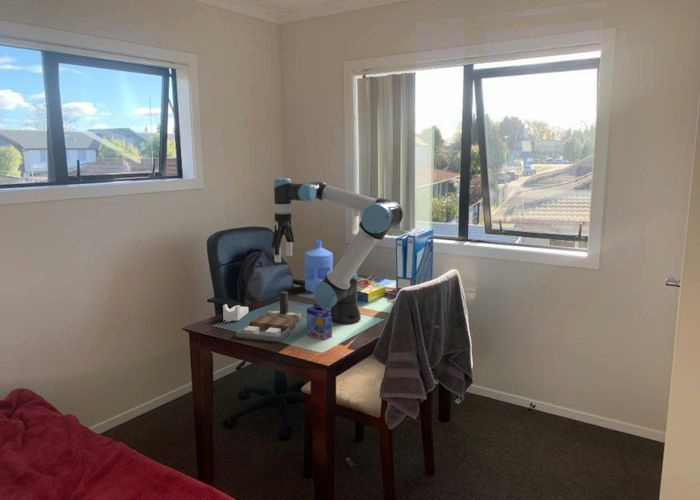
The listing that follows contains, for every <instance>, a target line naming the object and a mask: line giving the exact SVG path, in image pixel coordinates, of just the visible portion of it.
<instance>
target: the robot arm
mask: <svg viewBox="0 0 700 500" xmlns="http://www.w3.org/2000/svg"><path fill="white" fill-rule="evenodd" d="M273 195H274V205H273V207H274V222H277V224H276V225H275V224H274V231H273V237H272V244H271V247H272V249H273V250H274V252H273V253H274V255H273V256H274V263H281V262H282V254H281V253H282V252H281V251H282V249H281V248H282V247H281V243H282V240H283V236H284V237H285V240H286V242H285V256H286V257H292V256H293V243H294V242H295V237H294V232H293V227H292V201H297V202H304V203H306V202H313V201H314V200H320V201H321V202H326V203H329V204H332V205H336V206H340V207H342V208H345V209H349V210H352V211H356V212H359V213H361V217H360V218H361V221H360V222H359V224H358V226H359V230H358V232H357V233H356V235H355V236H354V238H353V239H352V240H351V242H350V244H349V245H348V247H347V248H346V249H345V251H344V253H343V255H342V256H341V258H340V259H339V260H338V262H337V264H336V265H335V267H333V271H329V272H328V273H327V274H326V276H325V277H324V279H323V280H322V281H321V282H319V283H318V284H316V285H315V287H314V289H313V292H312V293H313V294H312V295H313V298H314V300H315V302H316V303H317V305H320V306H321V308H325V309H330V310H332V323H334V324H339V325H349V324H356V323H358V322H360V321H361V319H362V318H361V317H362V316H361V312H360V308H359V305H358V280H359V279H358V274H357V271H358V270H359V268H360V267H361V265H362V264H363V262H364V260H365V259H366V258H367V256H368V254H369V253H370V252H371V251H372V249H373V247H374V246H375V244H376V243H377V242H378V241H383V239H384V238H385V237H386V235H387V233H388V232H389V231H390V229H392V228H396V227H397V226H399V224H400V223H401V222H402V220H403V218H404V211H403V208H402V207H401V204H400V203H398V202H396V201H394V200H391V199H387V198H383V197H378V198H374V197H371V196H366V195H364V194H360V193H357V192H353V191H350V190H347V189H343V188H339V187H336V186H332V185H329V184H327V183H326V182H324V181H314V182H313V181H312V182H305V183H293V182H292V180H291V178H289V177H278V178H277V177H276V178H275V179H274V181H273ZM359 320H360V321H359Z"/></svg>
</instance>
